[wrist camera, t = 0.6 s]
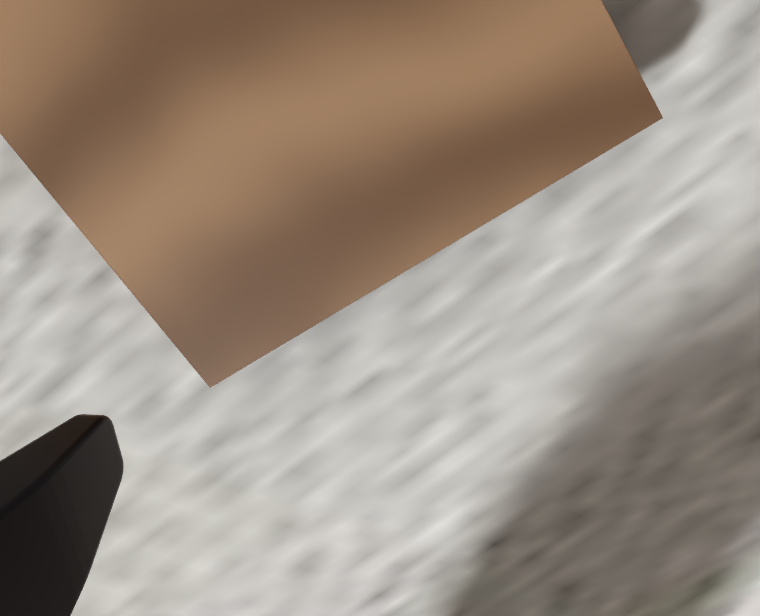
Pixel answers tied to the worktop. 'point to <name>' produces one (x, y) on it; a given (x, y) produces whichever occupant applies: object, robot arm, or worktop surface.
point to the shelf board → (300, 141)
